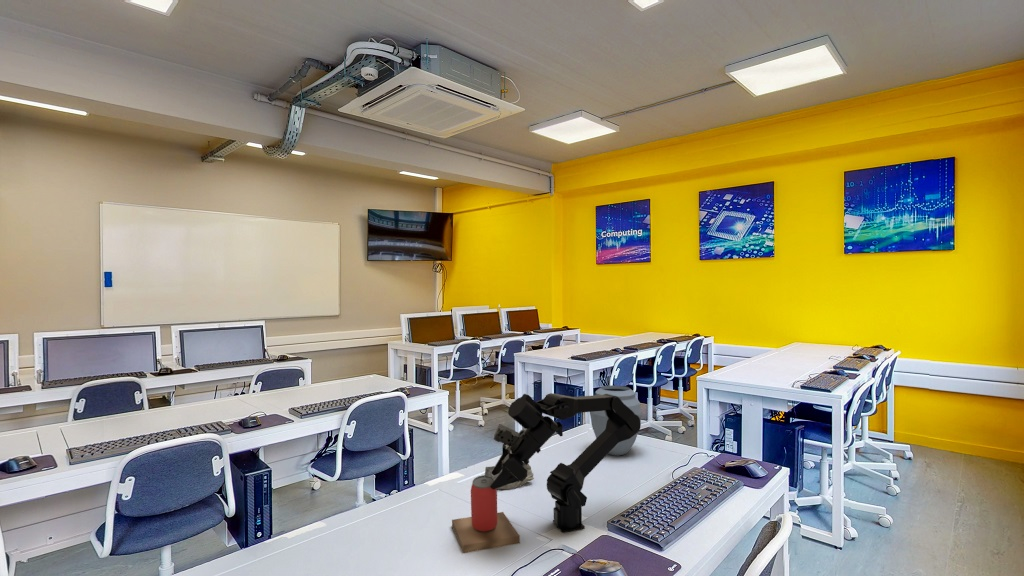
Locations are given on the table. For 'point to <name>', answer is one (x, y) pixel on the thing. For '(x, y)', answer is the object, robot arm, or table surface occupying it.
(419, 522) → the table surface
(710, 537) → the table surface
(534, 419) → the robot arm
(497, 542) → the walnut block
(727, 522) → the table surface
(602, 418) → the vase
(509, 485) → the grey irregular stone
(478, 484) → the beer can
